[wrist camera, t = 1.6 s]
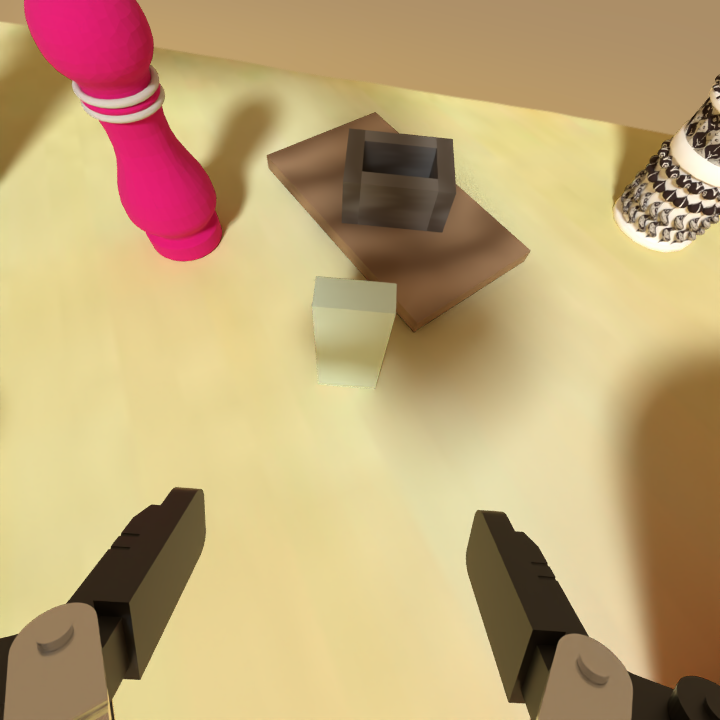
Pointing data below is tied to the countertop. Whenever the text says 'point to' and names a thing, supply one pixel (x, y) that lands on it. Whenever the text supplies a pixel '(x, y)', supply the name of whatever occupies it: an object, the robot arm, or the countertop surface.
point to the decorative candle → (677, 185)
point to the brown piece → (399, 213)
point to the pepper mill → (130, 118)
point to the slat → (351, 329)
